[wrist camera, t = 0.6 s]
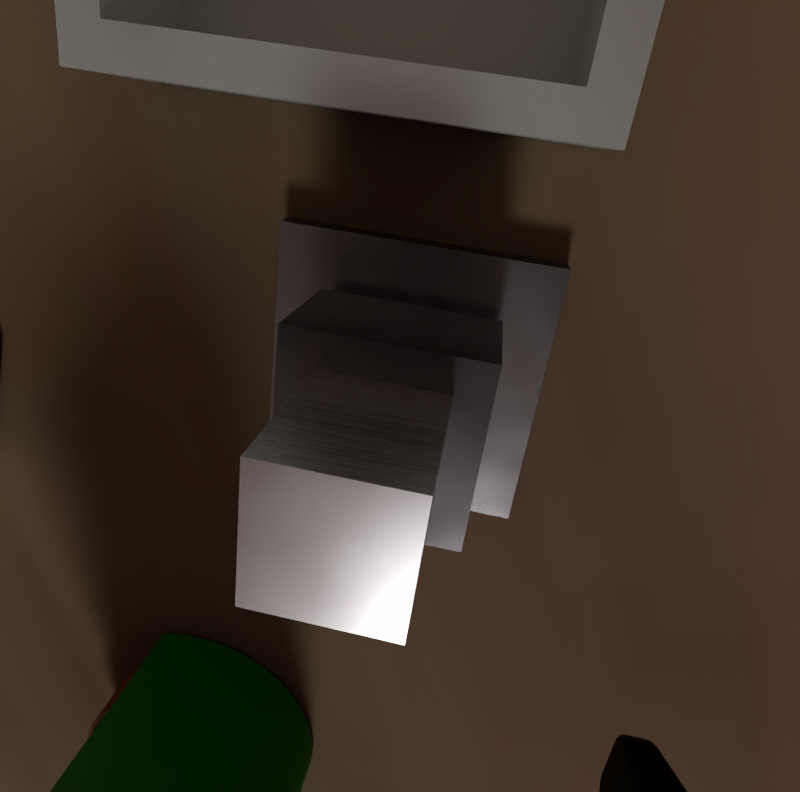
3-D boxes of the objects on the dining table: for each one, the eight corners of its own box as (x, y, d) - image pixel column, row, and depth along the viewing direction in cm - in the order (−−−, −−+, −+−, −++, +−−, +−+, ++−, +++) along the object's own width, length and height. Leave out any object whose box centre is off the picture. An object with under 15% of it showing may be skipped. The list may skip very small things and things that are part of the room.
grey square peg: (502, 320, 16) (501, 458, 9) (468, 480, 18) (445, 692, 11) (321, 289, 17) (187, 396, 10) (307, 447, 19) (188, 632, 12)
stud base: (568, 264, 17) (573, 274, 15) (507, 504, 20) (508, 531, 19) (289, 217, 18) (271, 223, 16) (275, 457, 21) (258, 479, 19)
